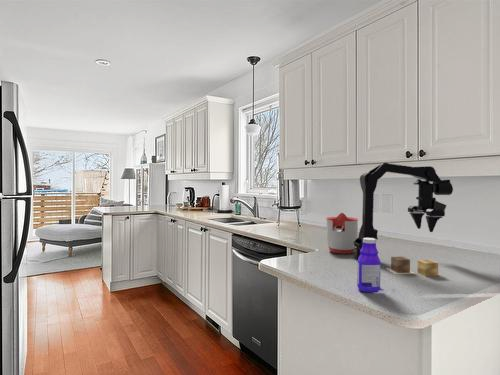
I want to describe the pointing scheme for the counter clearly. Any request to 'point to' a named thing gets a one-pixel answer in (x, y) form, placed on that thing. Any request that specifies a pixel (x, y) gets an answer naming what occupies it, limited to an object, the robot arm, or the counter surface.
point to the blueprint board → (399, 273)
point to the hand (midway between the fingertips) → (424, 230)
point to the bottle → (368, 267)
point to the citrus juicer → (342, 233)
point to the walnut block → (400, 264)
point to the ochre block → (427, 268)
